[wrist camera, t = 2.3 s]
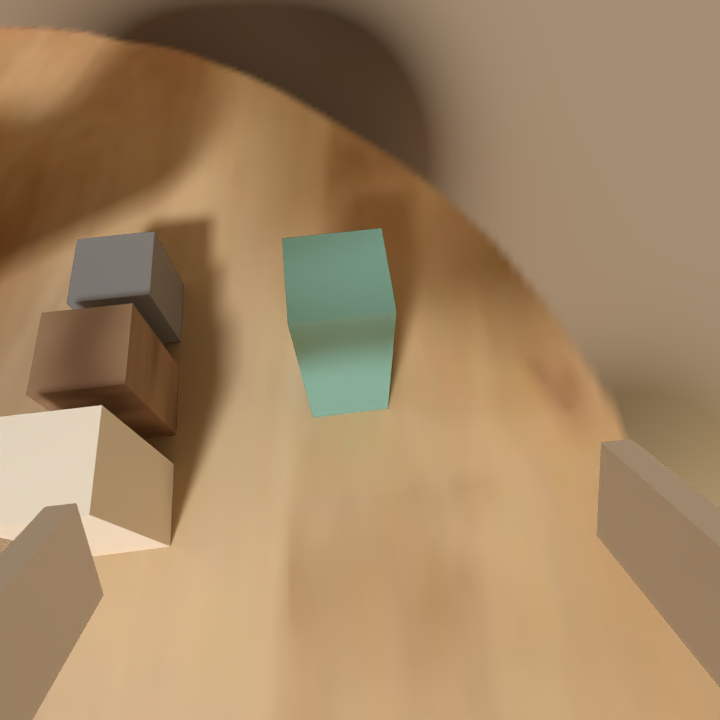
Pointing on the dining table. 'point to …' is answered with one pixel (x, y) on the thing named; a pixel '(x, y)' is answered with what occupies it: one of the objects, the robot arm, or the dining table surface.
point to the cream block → (85, 477)
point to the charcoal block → (129, 280)
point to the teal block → (341, 319)
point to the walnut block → (106, 367)
